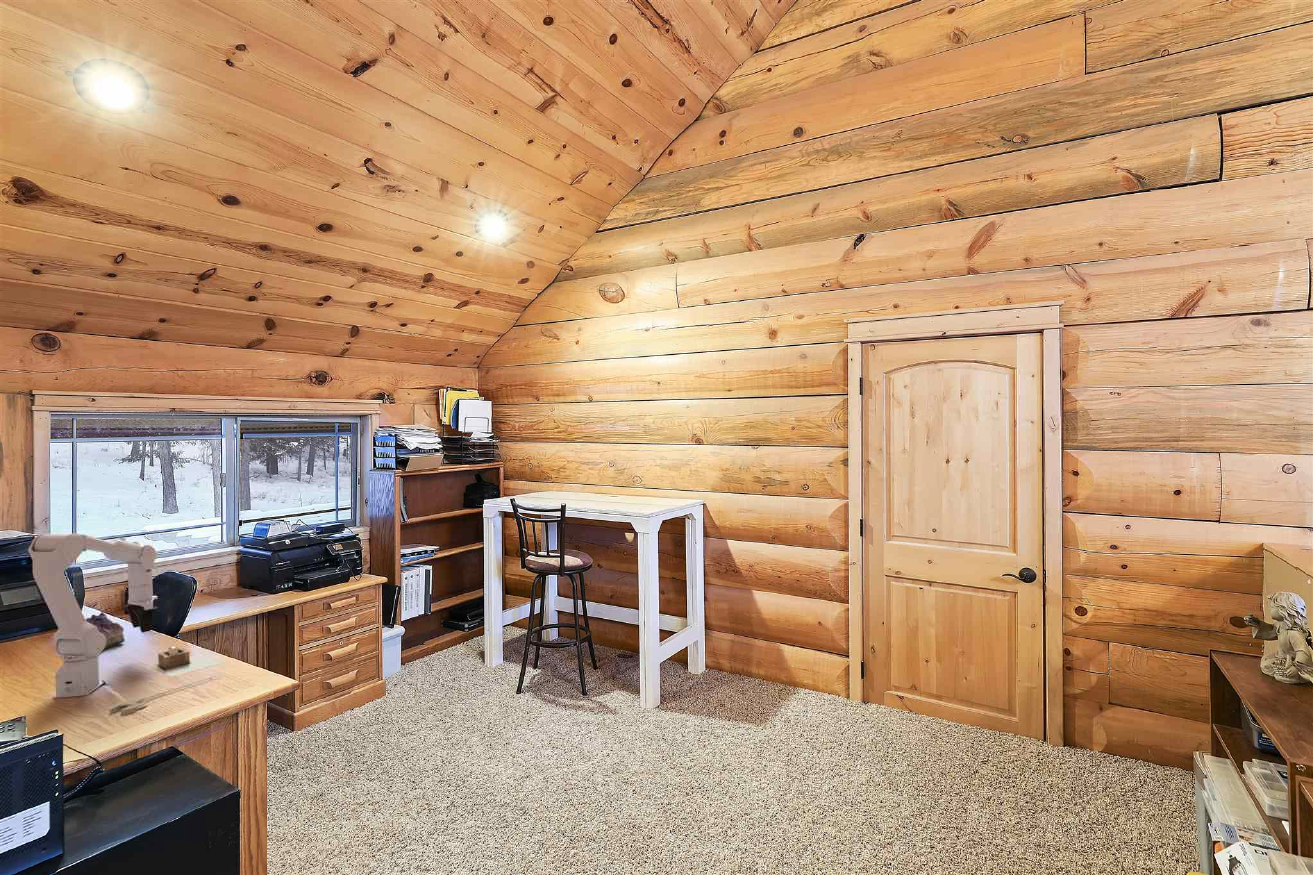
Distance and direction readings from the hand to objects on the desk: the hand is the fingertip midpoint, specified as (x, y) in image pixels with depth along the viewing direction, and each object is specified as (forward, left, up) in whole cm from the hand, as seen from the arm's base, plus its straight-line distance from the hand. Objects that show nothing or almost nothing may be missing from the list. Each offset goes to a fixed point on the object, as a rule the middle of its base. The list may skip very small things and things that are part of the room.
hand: (141, 629), depth 197 cm
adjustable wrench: (-30, -20, -11) cm, 37 cm away
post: (-6, -11, -10) cm, 16 cm away
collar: (-6, -11, -9) cm, 16 cm away
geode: (+23, +24, -11) cm, 35 cm away
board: (-8, -15, -10) cm, 20 cm away
